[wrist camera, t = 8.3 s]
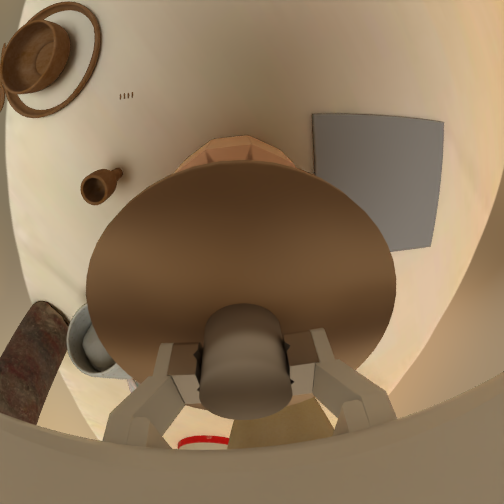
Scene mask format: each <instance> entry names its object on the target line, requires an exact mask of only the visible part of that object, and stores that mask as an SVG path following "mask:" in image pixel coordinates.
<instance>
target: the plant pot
mask: <svg viewBox="0 0 504 504" xmlns="http://www.w3.org/2000/svg"><path fill="white" fill-rule="evenodd" d="M333 433H334V428H333V426H332V425H331V423H330V421H329V419H328V418H327V416H326V414H325V413H324V411H323V410H322V408H321V406H320V405H319V403H318V402H317V400H316V399H315V397H312V398H310V399H308V400H305V401H303V402H300V403H297V404H293V405H290V406H287V407H285V408H284V409H282V410H281V411H279V412H277V413H275V414H273V415H270V416H267V417H264V418H259V419H252V420H234V422H233V426H232V430H231V434H230V438H229V442H228V447H227V449H242V448H256V447H267V446H276V445H284V444H291V443H298V442H305V441H311V440H316V439H322V438H327V437H332V436H333Z"/></svg>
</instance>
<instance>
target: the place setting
mask: <svg viewBox="0 0 504 504" xmlns="http://www.w3.org/2000/svg"><path fill="white" fill-rule="evenodd" d="M65 10H74V11H78V12H81V13H83V14H84V15H86V16H87V17H88V18H89V19H90V21H91V22H92V24H93V26H94V33H95V43H94V50H93V55H92V58H91V61H90V64H89V67H88V69H87V71H86V73H85V75H84V77H83V79H82V81H81V82H80V84H79V85H78V87H77V88H76V89H75V91H74V92H73V93H72V94H71V95H70V97H69V98H68V99H67V100H65V101H64V102H63V103H61V104H60V105H58V106H56V107H53V108H51V109H47V110H35V109H32V108H30V107H28V106H26V105H25V104H24V103H23V102H22V101H21V100H20V98H19V97H18V95H17V94H27V93H34V92H37V91H40V90H43V89H45V88H46V87H48V86H49V85H51V84H52V83H53V82H54V81H55V80H56V79H57V78H58V76H59V75H60V74H61V72H62V71H63V69H64V67H65V65H66V63H67V60H68V57H69V53H70V39H69V36H68V34H67V32H66V31H65V29H64V28H63V27H61V26H60V25H58V24H56V23H53V22H50V21H46V20H44V19H45V18H47V17H48V16H50V15H52V14H54V13H57V12H60V11H65ZM99 50H100V28H99V25H98V22H97V20H96V18H95V16H94V14H93V13H92V12H91V11H90V10H89V9H88V8H87V7H85V6H83V5H81V4H79V3H76V2H60V3H56V4H53V5H51V6H49V7H47V8H45V9H43V10H41V11H40V12H38V13H37V14H36V15H35V16H33V17H32V18H31V19H30V20H29V21H28V22H27V23H26V24H25V25H24V26H22V27H21V28H20V29H19V30H18V31H17V32H16V33H15V34H14V35H13V37H12V38H11V40H10V41H9V43H8V45H7V46H6V43H4V45H3V48H2V53H1V60H0V112H1V110H2V108H3V105H4V101H5V93H6V97H7V99H8V101H9V103H10V105H11V106H12V107H13V109H14V110H15V111H16V112H18V113H19V114H21V115H23V116H25V117H29V118H40V117H45V116H48V115H51V114H53V113H55V112H57V111H59V110H61V109H62V108H64V107H65V106H66V105H68V104H69V103H70V102H71V101H72V100H73V99H74V98H75V97H76V96H77V95H78V94H79V92H80V91H81V90H82V89H83V87H84V86H85V84H86V83H87V81H88V80H89V78H90V76H91V74H92V72H93V70H94V67H95V65H96V62H97V59H98V55H99ZM2 84H3V85H2ZM3 86H4V87H3ZM132 97H133V92H132ZM128 98H129V93H128ZM124 99H125V93H124ZM120 100H121V94H120ZM122 175H123V171H122V170H121V169H120V168H116V169H115V170H112V171H110V170H107V169H101V170H97V171H95V172H93V173H91V174H90V175H88V176H87V177H85V178H84V180H83V181H82V183H81V194H82V197H83V198H84V200H85V201H86V202H87V203H89V204H91V205H99V204H101V203H103V202H104V201H105V200H107V199H108V198H109V197H110V196H111V195H112V194H113V192H114V191H115V189H116V185H117V181H118V180H119V178H121V177H122Z"/></svg>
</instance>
